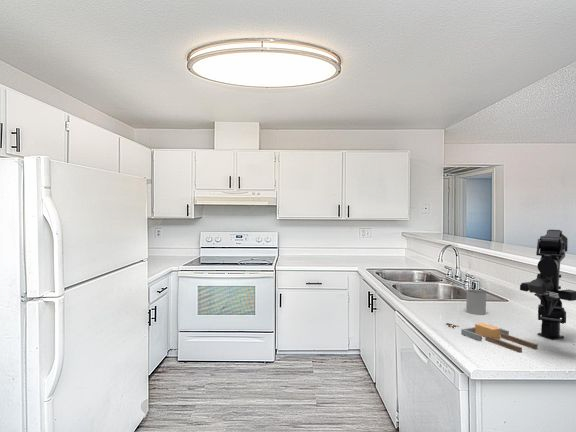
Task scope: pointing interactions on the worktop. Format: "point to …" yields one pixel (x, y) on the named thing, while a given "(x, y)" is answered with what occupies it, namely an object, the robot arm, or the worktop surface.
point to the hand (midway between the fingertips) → (547, 314)
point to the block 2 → (492, 332)
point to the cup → (476, 302)
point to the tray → (471, 333)
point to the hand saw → (450, 325)
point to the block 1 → (480, 328)
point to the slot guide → (511, 346)
